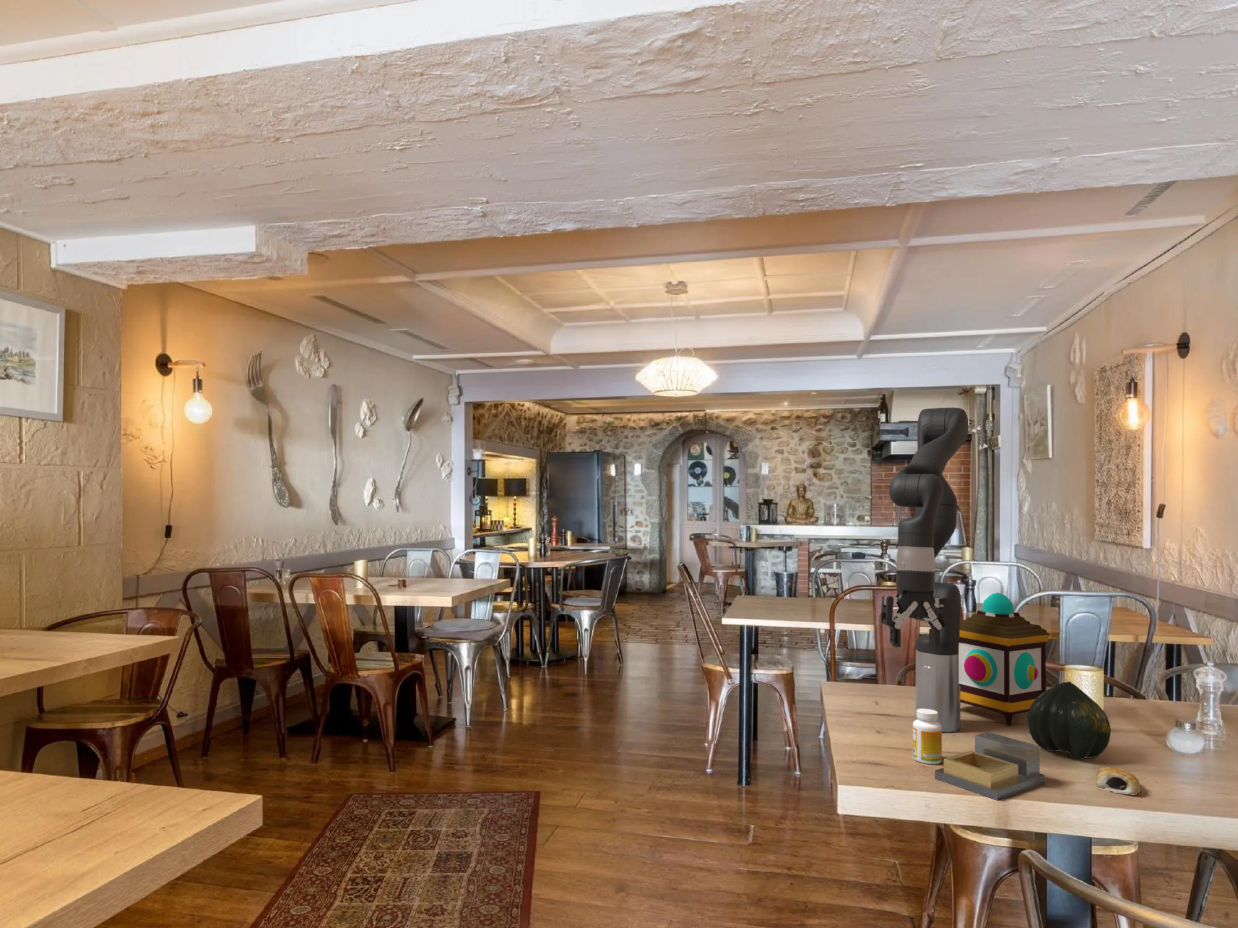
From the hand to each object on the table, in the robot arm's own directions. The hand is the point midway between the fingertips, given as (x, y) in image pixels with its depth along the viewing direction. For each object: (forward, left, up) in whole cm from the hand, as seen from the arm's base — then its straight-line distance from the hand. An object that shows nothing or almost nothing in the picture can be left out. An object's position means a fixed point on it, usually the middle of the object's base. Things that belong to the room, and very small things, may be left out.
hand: (914, 647), depth 156 cm
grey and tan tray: (+2, +17, -22) cm, 28 cm away
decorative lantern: (-45, -8, -22) cm, 51 cm away
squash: (-29, +16, -22) cm, 40 cm away
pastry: (-16, +31, -22) cm, 41 cm away
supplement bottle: (+2, +4, -22) cm, 22 cm away
